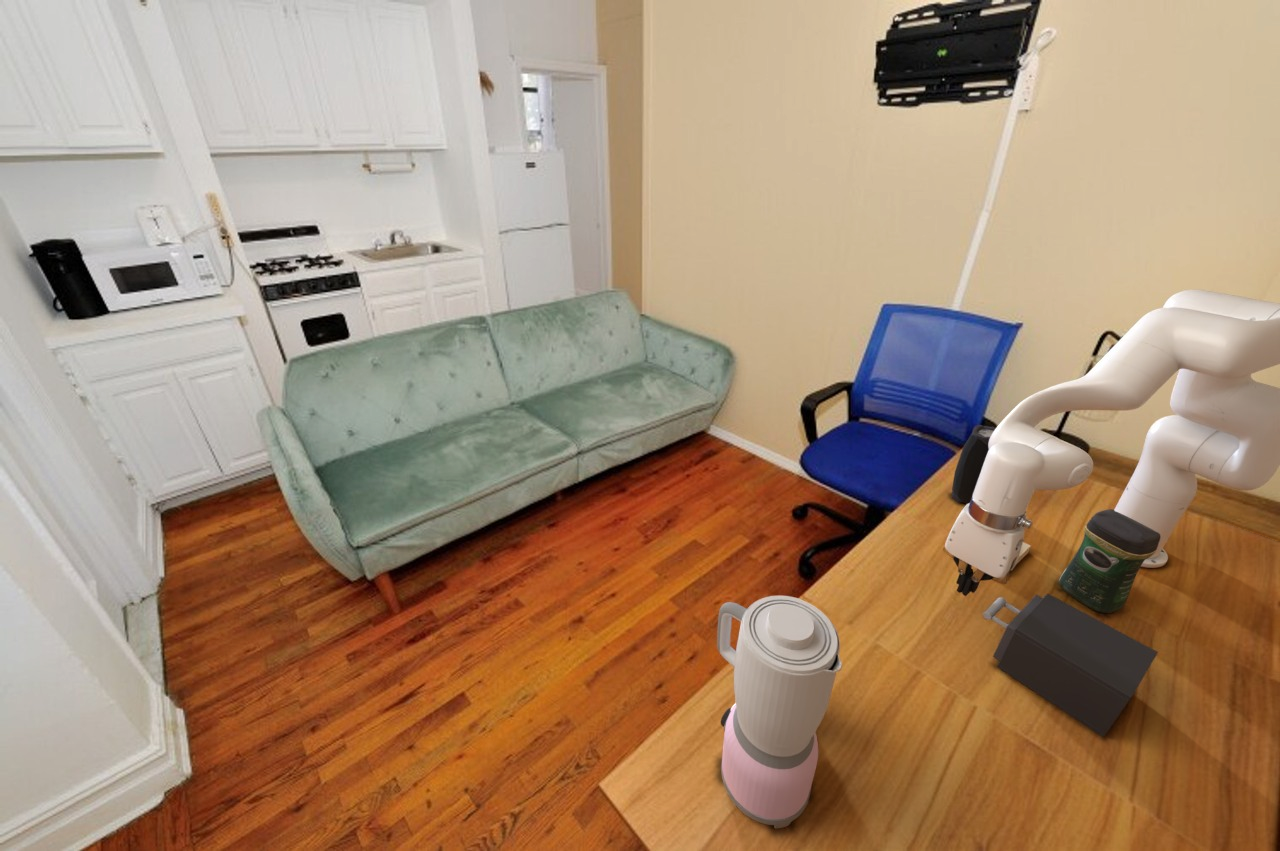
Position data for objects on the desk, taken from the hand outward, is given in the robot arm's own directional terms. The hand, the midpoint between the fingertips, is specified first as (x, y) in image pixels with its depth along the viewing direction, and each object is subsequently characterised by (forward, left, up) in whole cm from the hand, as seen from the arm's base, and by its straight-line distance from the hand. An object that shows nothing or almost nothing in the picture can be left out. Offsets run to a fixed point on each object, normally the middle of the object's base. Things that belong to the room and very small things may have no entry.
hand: (964, 590), depth 94 cm
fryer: (0, +17, -6) cm, 18 cm away
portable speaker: (-39, -16, -6) cm, 42 cm away
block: (-23, -4, -6) cm, 24 cm away
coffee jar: (-25, +13, -6) cm, 29 cm away
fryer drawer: (0, +13, -5) cm, 14 cm away
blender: (+52, -3, -6) cm, 53 cm away
